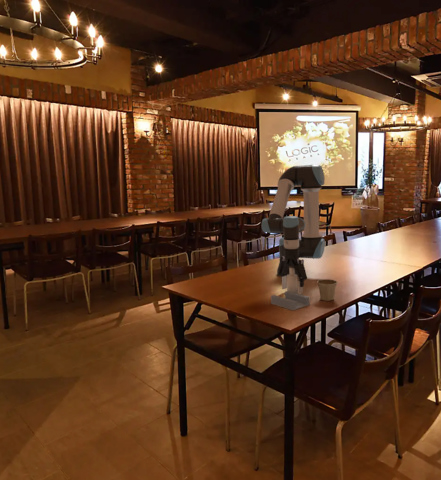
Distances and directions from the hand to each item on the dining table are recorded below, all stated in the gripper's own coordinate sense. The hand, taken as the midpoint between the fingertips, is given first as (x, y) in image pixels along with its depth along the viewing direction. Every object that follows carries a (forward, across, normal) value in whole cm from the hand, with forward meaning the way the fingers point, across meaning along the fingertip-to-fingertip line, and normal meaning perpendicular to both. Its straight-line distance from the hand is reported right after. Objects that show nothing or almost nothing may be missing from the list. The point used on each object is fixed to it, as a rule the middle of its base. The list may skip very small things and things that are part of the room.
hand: (292, 290), depth 198 cm
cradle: (+2, +10, -12) cm, 16 cm away
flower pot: (+2, +17, +6) cm, 18 cm away
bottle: (+2, 0, 0) cm, 2 cm away
